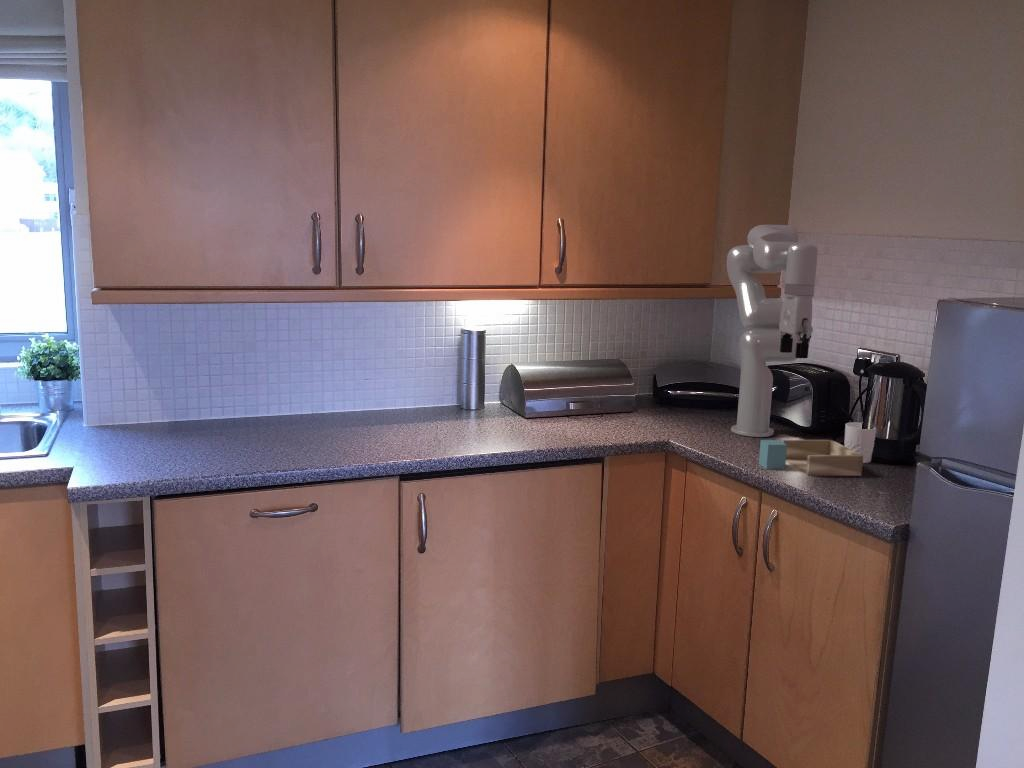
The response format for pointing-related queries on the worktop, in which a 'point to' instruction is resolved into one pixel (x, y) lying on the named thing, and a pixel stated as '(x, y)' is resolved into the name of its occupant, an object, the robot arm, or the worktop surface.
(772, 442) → the teal block
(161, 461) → the worktop surface
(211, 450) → the worktop surface
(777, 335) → the robot arm
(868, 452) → the white cup
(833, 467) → the birch box
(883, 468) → the worktop surface
